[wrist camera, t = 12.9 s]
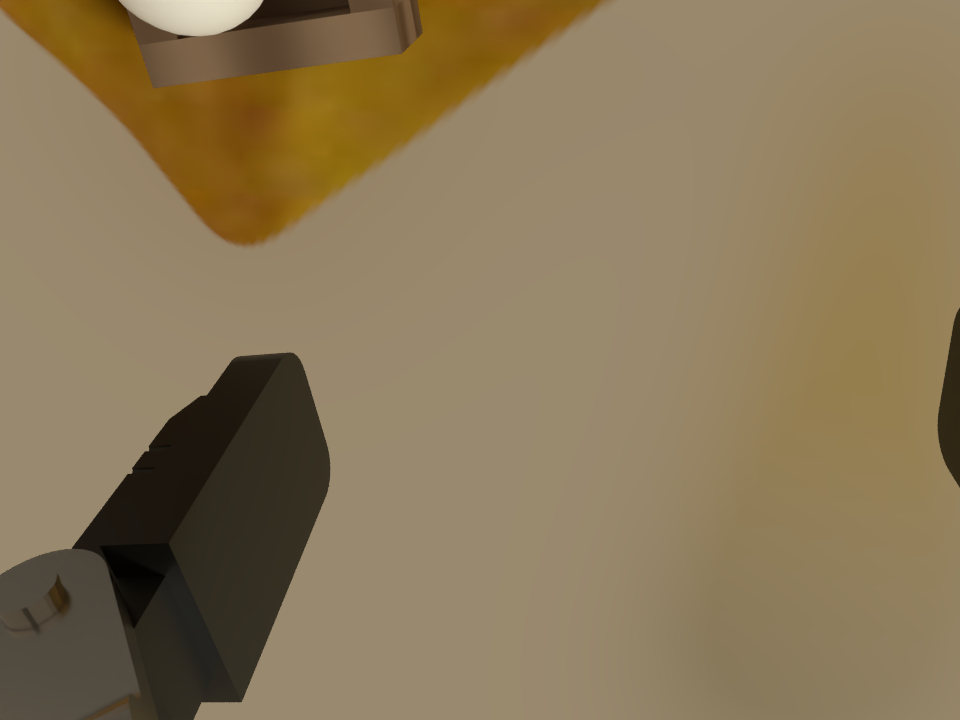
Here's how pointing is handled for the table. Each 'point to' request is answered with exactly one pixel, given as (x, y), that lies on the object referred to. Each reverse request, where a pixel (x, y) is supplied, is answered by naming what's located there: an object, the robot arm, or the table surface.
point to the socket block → (281, 39)
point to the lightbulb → (193, 14)
